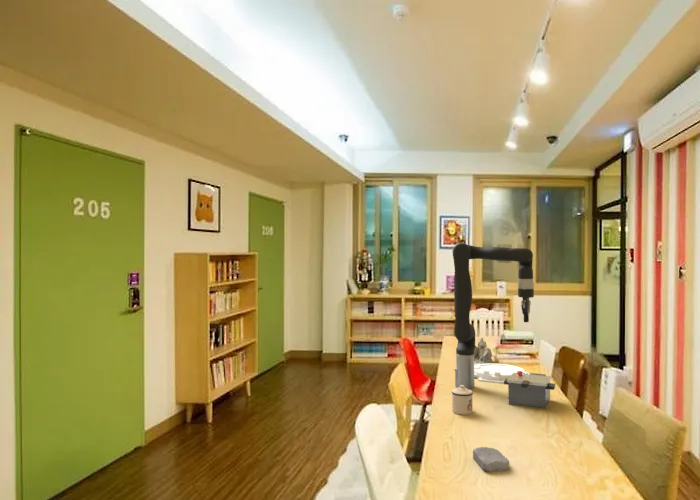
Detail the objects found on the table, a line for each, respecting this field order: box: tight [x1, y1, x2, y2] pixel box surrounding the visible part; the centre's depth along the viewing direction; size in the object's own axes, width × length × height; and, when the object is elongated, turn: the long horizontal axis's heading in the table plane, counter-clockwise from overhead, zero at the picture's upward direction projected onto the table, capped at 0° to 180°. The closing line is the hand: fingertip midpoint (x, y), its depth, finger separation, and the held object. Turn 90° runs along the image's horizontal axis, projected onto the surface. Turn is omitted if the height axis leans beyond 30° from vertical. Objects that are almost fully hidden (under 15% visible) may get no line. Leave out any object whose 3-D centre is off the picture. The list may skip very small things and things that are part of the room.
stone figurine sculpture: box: [474, 337, 493, 364], centre depth 320 cm, size 16×16×15 cm
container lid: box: [474, 362, 526, 385], centre depth 283 cm, size 30×35×6 cm
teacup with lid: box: [451, 385, 474, 416], centre depth 219 cm, size 12×9×12 cm
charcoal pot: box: [504, 378, 556, 410], centre depth 231 cm, size 22×16×10 cm
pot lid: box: [507, 371, 552, 388], centre depth 228 cm, size 17×25×3 cm
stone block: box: [472, 446, 510, 473], centre depth 163 cm, size 12×5×10 cm
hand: (526, 322), depth 249 cm, fingers closed
